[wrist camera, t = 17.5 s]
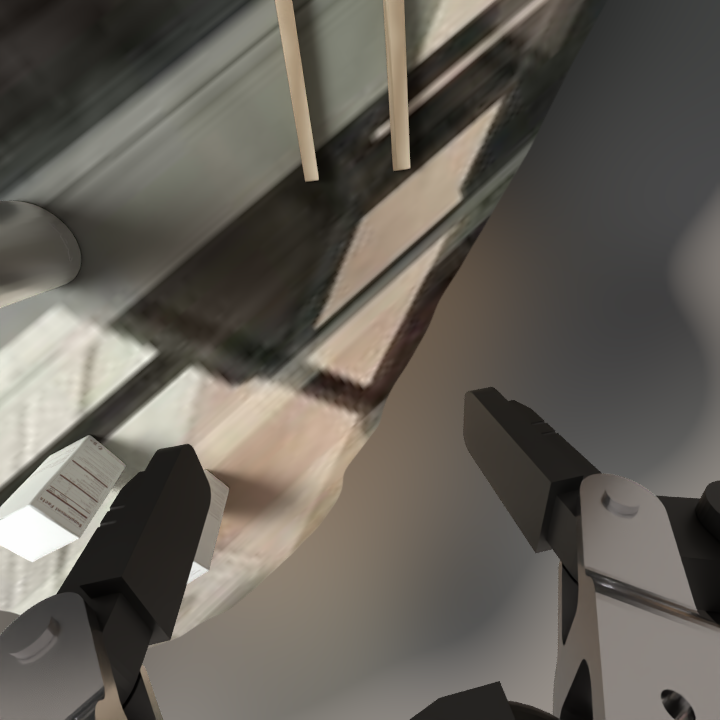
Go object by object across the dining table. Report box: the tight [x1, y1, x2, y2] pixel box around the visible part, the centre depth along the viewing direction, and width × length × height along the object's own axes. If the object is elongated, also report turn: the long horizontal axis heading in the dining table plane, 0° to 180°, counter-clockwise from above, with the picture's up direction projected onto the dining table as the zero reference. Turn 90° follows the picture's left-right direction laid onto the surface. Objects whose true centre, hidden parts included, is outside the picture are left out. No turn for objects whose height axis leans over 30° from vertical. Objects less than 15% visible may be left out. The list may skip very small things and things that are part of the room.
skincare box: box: [187, 470, 229, 584], centre depth 49 cm, size 8×6×15 cm
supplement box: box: [0, 435, 126, 562], centre depth 44 cm, size 7×7×13 cm
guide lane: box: [275, 0, 410, 182], centre depth 31 cm, size 12×27×4 cm, turn 7°
